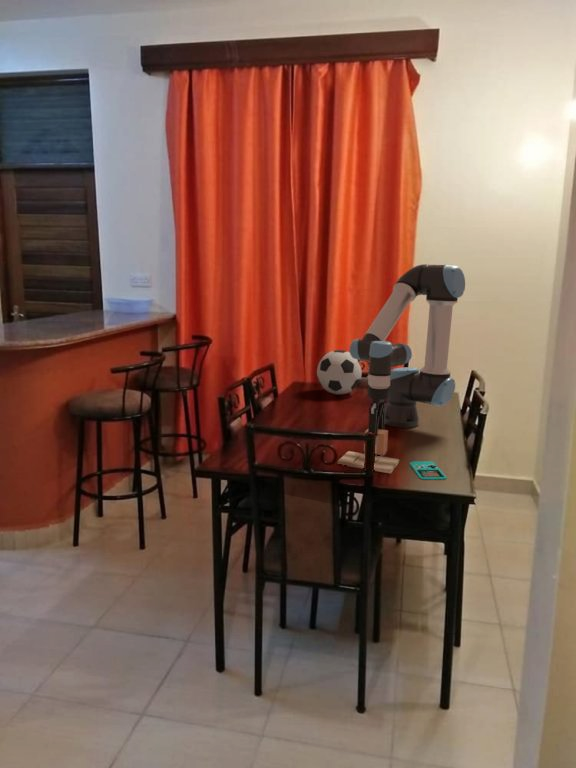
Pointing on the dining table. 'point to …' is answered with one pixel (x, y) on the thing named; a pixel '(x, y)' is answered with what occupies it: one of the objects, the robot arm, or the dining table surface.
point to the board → (359, 459)
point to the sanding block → (381, 442)
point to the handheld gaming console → (427, 466)
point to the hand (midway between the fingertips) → (375, 450)
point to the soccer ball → (339, 372)
